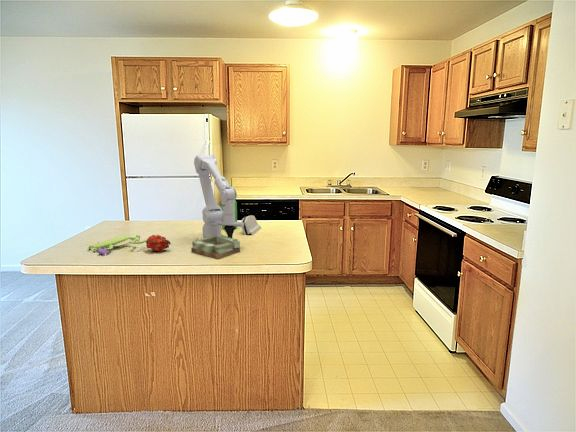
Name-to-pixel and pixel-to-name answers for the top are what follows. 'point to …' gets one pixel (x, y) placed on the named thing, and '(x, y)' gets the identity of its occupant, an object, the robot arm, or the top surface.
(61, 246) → the top surface
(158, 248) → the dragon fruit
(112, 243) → the figurine
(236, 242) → the hinged leg
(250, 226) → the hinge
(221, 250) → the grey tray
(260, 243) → the top surface
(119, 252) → the top surface
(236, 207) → the bottle
